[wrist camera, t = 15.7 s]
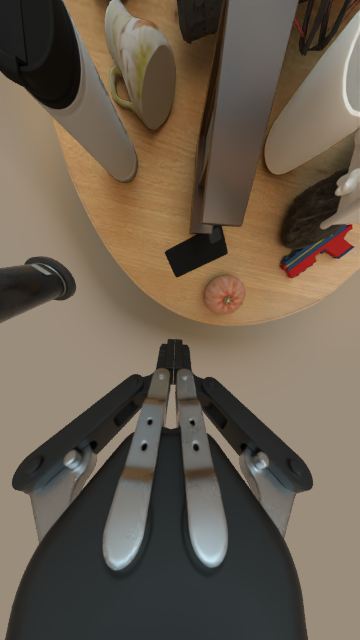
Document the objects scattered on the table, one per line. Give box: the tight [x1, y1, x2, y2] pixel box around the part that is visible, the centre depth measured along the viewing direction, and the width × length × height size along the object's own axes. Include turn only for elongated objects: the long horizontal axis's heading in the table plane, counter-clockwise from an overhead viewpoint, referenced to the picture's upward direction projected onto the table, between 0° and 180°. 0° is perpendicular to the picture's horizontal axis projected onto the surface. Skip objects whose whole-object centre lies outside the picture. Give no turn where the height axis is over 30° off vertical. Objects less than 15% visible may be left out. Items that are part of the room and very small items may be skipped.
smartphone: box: [165, 225, 228, 277], centre depth 33 cm, size 7×1×15 cm
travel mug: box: [0, 0, 137, 183], centre depth 16 cm, size 6×7×20 cm
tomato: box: [204, 275, 245, 314], centre depth 35 cm, size 11×11×8 cm
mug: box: [105, 0, 176, 130], centre depth 18 cm, size 8×10×10 cm
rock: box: [281, 168, 349, 249], centre depth 25 cm, size 10×11×10 cm
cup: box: [264, 10, 360, 175], centre depth 18 cm, size 8×8×14 cm
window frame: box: [189, 0, 299, 235], centre depth 19 cm, size 13×4×20 cm, turn 177°
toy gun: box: [280, 224, 354, 278], centre depth 32 cm, size 15×2×10 cm
